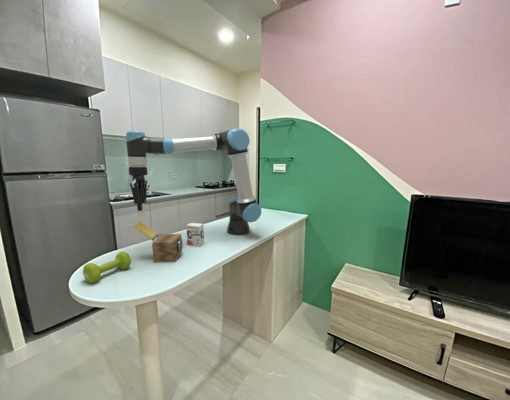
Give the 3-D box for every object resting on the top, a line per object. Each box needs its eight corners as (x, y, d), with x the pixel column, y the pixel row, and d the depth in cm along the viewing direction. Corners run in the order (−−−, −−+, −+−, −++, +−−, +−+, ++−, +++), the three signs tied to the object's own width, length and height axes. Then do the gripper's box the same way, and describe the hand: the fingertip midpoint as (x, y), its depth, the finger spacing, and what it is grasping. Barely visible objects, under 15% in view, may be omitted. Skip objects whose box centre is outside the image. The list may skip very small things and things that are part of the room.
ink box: (186, 244, 125) (185, 224, 122) (191, 241, 129) (190, 222, 127) (200, 246, 122) (199, 226, 120) (204, 243, 127) (204, 223, 125)
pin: (182, 248, 112) (182, 238, 111) (179, 253, 106) (179, 242, 105) (157, 249, 111) (157, 238, 110) (153, 254, 106) (152, 242, 105)
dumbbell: (92, 286, 83) (90, 268, 82) (81, 281, 87) (79, 264, 86) (134, 268, 97) (132, 253, 96) (123, 264, 101) (121, 249, 100)
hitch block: (182, 251, 115) (181, 234, 114) (175, 261, 104) (174, 242, 102) (162, 251, 115) (161, 234, 113) (153, 262, 103) (152, 242, 101)
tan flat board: (158, 236, 111) (159, 234, 111) (153, 241, 104) (154, 239, 104) (139, 222, 109) (140, 221, 109) (132, 226, 102) (134, 225, 102)
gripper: (135, 166, 107) (139, 213, 111) (121, 166, 94) (126, 220, 98) (151, 166, 108) (154, 213, 111) (140, 167, 95) (143, 220, 99)
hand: (141, 217), depth 105 cm, fingers closed
